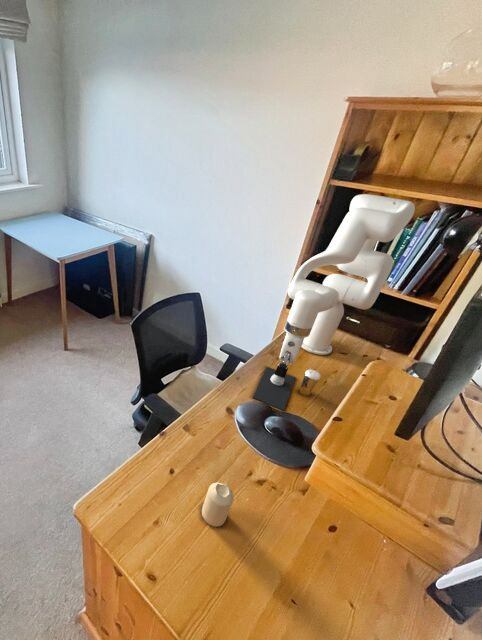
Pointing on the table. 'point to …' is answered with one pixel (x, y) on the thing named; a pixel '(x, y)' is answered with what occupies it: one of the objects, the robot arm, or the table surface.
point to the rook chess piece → (277, 380)
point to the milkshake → (309, 381)
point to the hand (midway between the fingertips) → (282, 368)
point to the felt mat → (273, 390)
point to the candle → (217, 504)
